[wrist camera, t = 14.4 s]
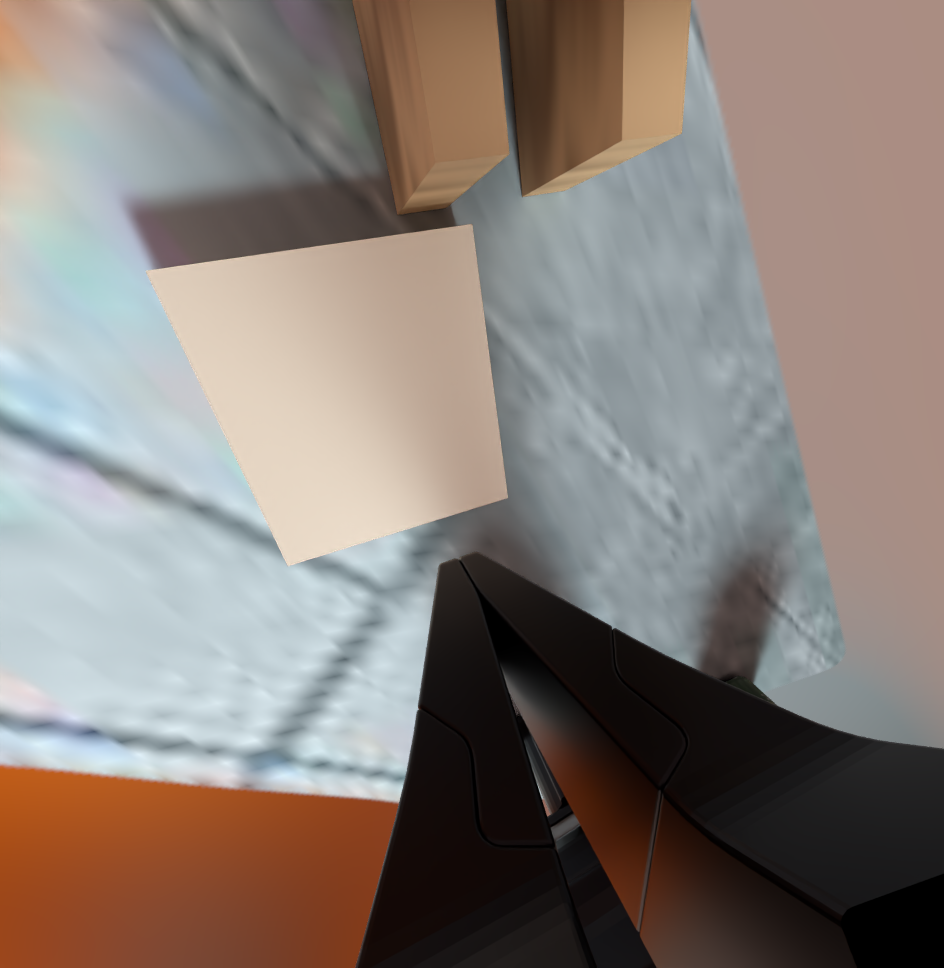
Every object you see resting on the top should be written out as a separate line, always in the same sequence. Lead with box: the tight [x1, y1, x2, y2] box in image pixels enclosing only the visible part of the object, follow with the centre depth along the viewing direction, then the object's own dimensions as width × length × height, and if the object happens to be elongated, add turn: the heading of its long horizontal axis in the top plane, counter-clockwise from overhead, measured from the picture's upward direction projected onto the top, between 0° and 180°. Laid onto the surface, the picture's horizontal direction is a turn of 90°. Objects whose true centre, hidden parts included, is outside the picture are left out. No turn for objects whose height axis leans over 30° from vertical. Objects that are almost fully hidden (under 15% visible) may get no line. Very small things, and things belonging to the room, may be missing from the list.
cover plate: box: [146, 224, 508, 566], centre depth 17 cm, size 12×2×11 cm
